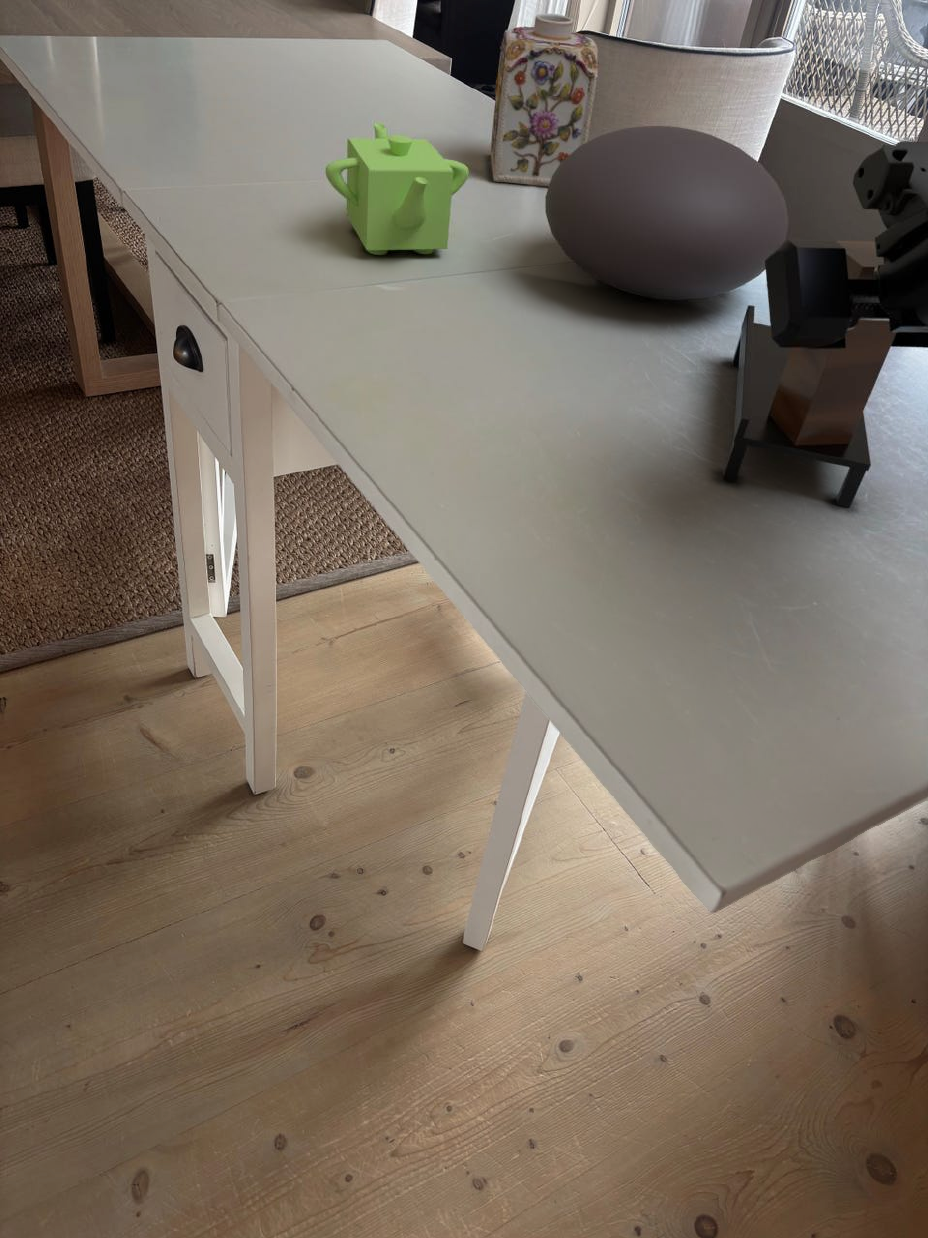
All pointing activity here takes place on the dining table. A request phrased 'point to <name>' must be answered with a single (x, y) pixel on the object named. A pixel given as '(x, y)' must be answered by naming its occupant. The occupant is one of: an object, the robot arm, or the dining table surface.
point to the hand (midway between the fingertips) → (830, 338)
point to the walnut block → (834, 372)
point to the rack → (758, 429)
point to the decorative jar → (541, 99)
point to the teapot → (397, 191)
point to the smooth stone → (666, 212)
